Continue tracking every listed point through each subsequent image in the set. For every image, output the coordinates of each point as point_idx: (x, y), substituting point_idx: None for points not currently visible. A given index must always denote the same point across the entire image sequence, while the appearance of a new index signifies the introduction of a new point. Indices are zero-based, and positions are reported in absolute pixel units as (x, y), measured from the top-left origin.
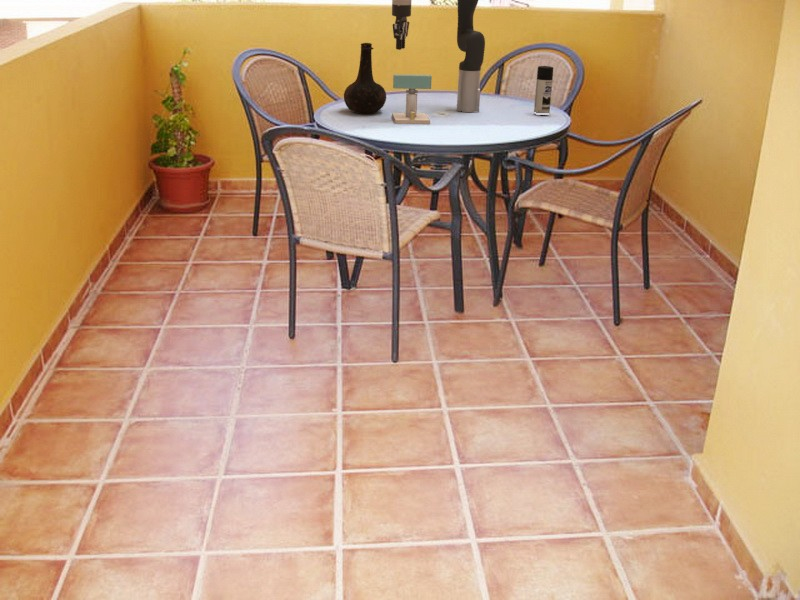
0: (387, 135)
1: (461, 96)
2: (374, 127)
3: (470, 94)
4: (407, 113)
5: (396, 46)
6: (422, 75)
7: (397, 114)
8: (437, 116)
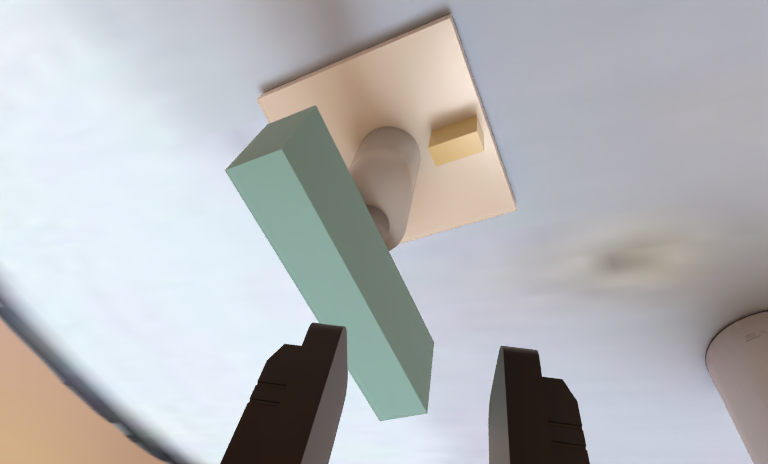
0: (13, 129)
1: (757, 393)
2: (111, 11)
3: (744, 442)
4: (357, 150)
5: (264, 367)
6: (381, 368)
7: (415, 65)
8: (556, 248)
